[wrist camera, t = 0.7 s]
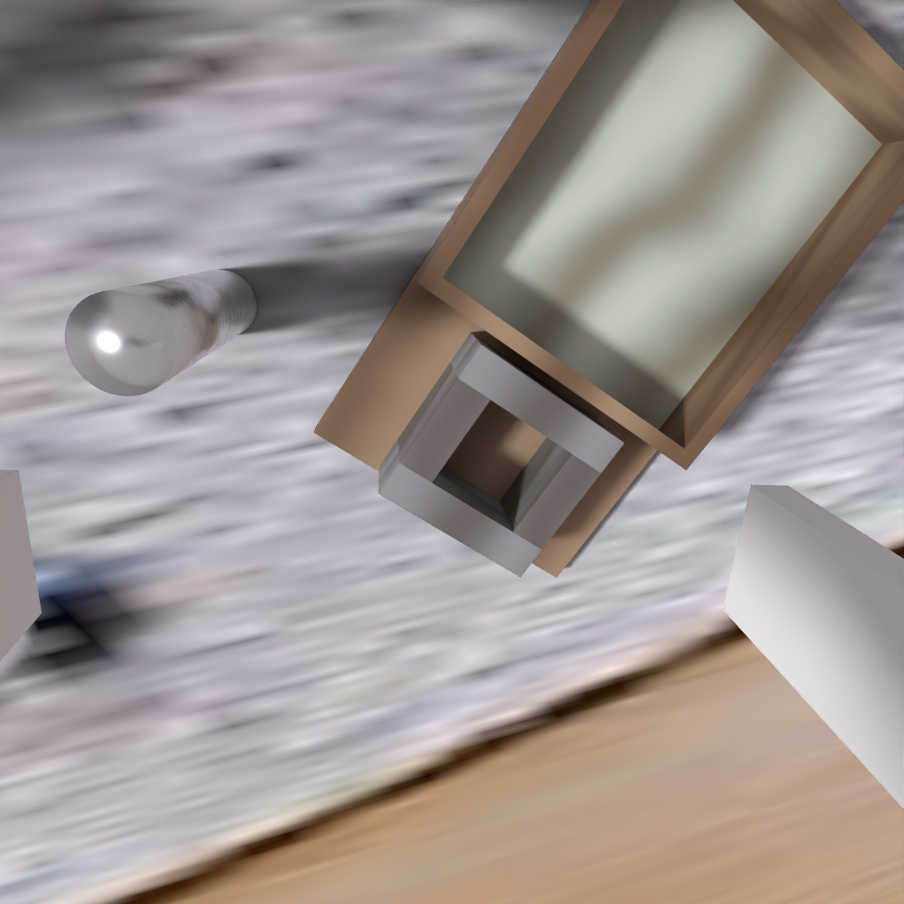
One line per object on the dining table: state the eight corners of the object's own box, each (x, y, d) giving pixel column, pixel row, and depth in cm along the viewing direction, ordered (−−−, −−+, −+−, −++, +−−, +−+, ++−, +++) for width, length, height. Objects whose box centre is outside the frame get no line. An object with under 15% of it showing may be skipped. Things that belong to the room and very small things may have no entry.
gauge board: (315, 427, 34) (304, 457, 30) (648, -88, 29) (699, -152, 24) (552, 569, 38) (575, 615, 34) (886, 143, 33) (971, 127, 28)
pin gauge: (177, 312, 32) (46, 359, 20) (209, 256, 31) (94, 268, 19) (236, 348, 33) (146, 415, 21) (268, 294, 32) (194, 330, 20)
